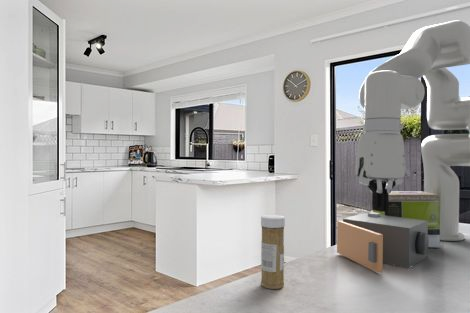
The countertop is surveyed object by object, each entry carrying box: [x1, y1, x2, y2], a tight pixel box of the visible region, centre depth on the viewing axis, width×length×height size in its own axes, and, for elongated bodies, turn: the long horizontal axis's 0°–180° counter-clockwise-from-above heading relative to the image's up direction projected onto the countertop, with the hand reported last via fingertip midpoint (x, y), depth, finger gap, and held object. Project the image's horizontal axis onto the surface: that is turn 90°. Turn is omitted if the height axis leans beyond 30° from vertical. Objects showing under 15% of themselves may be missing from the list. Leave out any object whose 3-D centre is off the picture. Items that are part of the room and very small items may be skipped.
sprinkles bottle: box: [260, 214, 286, 290], centre depth 70 cm, size 5×5×14 cm
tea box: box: [372, 190, 441, 248], centre depth 104 cm, size 15×10×15 cm
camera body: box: [342, 211, 429, 269], centre depth 91 cm, size 13×17×10 cm
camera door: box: [336, 220, 384, 274], centre depth 84 cm, size 2×16×8 cm, turn 16°
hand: (380, 210), depth 81 cm, fingers closed
